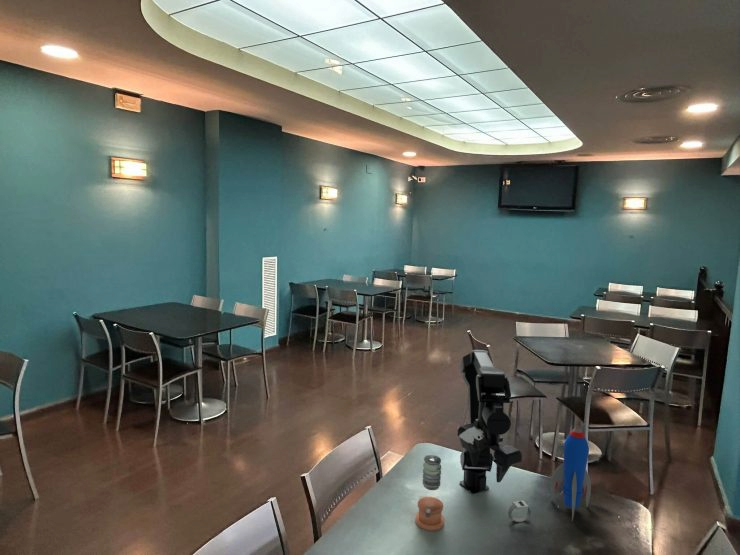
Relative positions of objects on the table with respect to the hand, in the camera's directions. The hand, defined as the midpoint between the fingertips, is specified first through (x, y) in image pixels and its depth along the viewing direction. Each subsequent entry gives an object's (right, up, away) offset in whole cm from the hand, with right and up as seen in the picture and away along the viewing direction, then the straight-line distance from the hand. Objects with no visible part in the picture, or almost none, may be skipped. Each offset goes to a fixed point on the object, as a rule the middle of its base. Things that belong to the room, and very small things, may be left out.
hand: (486, 473), depth 122 cm
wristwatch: (+9, -14, +1) cm, 16 cm away
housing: (-15, -13, 0) cm, 20 cm away
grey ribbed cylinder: (-15, -3, -2) cm, 15 cm away
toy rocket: (+25, -13, +5) cm, 29 cm away
